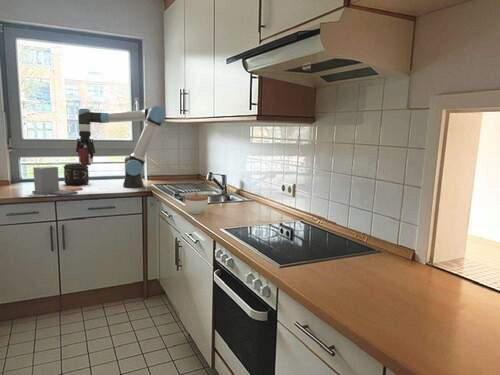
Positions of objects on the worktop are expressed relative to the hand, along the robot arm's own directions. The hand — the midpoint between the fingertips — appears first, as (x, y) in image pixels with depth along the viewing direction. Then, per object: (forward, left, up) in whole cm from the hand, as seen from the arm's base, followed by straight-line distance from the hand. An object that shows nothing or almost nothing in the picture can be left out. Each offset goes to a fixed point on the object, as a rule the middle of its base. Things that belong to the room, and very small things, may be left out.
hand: (85, 162), depth 260 cm
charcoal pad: (-1, +18, -20) cm, 27 cm away
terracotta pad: (+12, +7, -20) cm, 24 cm away
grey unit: (+12, +22, -20) cm, 32 cm away
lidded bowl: (-107, +12, -20) cm, 109 cm away
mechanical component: (0, 0, -2) cm, 2 cm away
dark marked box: (+31, -14, -20) cm, 39 cm away
